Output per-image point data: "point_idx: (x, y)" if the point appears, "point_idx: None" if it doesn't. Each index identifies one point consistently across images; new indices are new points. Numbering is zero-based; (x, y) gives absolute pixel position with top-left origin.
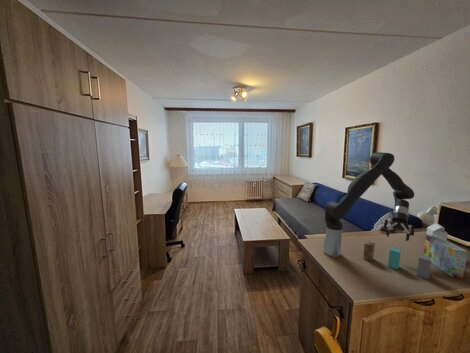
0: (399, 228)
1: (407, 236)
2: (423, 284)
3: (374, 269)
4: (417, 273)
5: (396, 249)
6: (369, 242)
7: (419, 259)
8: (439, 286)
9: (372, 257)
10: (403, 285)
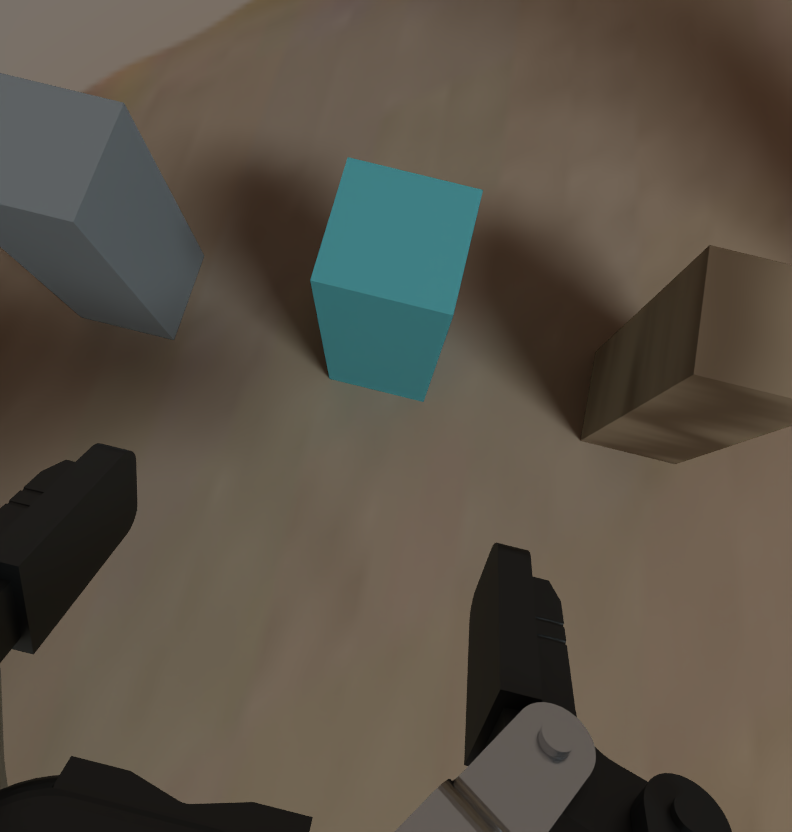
0: (148, 790)
1: (47, 498)
2: (201, 122)
3: (578, 193)
4: (192, 241)
5: (376, 259)
6: (778, 357)
7: (126, 119)
8: None
9: (618, 332)
10: (372, 39)
